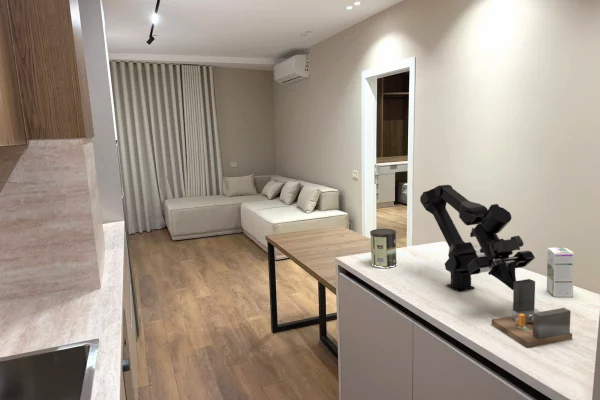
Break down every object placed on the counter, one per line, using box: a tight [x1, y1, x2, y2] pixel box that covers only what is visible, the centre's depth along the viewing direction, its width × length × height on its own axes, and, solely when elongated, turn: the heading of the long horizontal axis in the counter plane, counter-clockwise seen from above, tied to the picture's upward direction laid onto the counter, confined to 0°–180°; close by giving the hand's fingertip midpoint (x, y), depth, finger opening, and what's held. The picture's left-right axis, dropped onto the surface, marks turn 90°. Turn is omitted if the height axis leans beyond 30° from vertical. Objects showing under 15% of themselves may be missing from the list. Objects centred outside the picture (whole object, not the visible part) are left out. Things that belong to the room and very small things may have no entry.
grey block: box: [473, 244, 490, 274], centre depth 159 cm, size 10×13×9 cm
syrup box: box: [546, 246, 575, 298], centre depth 130 cm, size 6×6×14 cm
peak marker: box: [518, 314, 525, 327], centre depth 108 cm, size 1×1×3 cm
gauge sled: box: [510, 278, 541, 324], centre depth 110 cm, size 6×7×10 cm
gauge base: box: [491, 307, 573, 349], centre depth 108 cm, size 13×13×8 cm
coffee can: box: [369, 228, 398, 267], centre depth 169 cm, size 10×10×14 cm
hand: (515, 289), depth 115 cm, fingers closed
